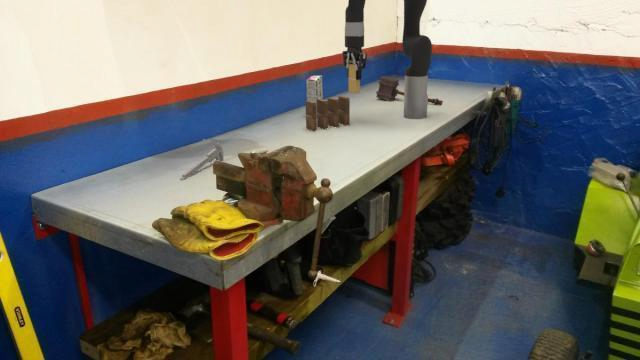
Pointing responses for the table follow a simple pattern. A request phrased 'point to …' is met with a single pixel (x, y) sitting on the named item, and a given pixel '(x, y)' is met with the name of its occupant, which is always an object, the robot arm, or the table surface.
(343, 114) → the domino
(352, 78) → the domino
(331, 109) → the domino
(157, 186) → the table surface
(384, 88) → the hammer
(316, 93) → the candy bar box
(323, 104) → the domino
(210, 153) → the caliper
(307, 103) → the domino
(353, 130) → the table surface
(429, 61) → the robot arm
